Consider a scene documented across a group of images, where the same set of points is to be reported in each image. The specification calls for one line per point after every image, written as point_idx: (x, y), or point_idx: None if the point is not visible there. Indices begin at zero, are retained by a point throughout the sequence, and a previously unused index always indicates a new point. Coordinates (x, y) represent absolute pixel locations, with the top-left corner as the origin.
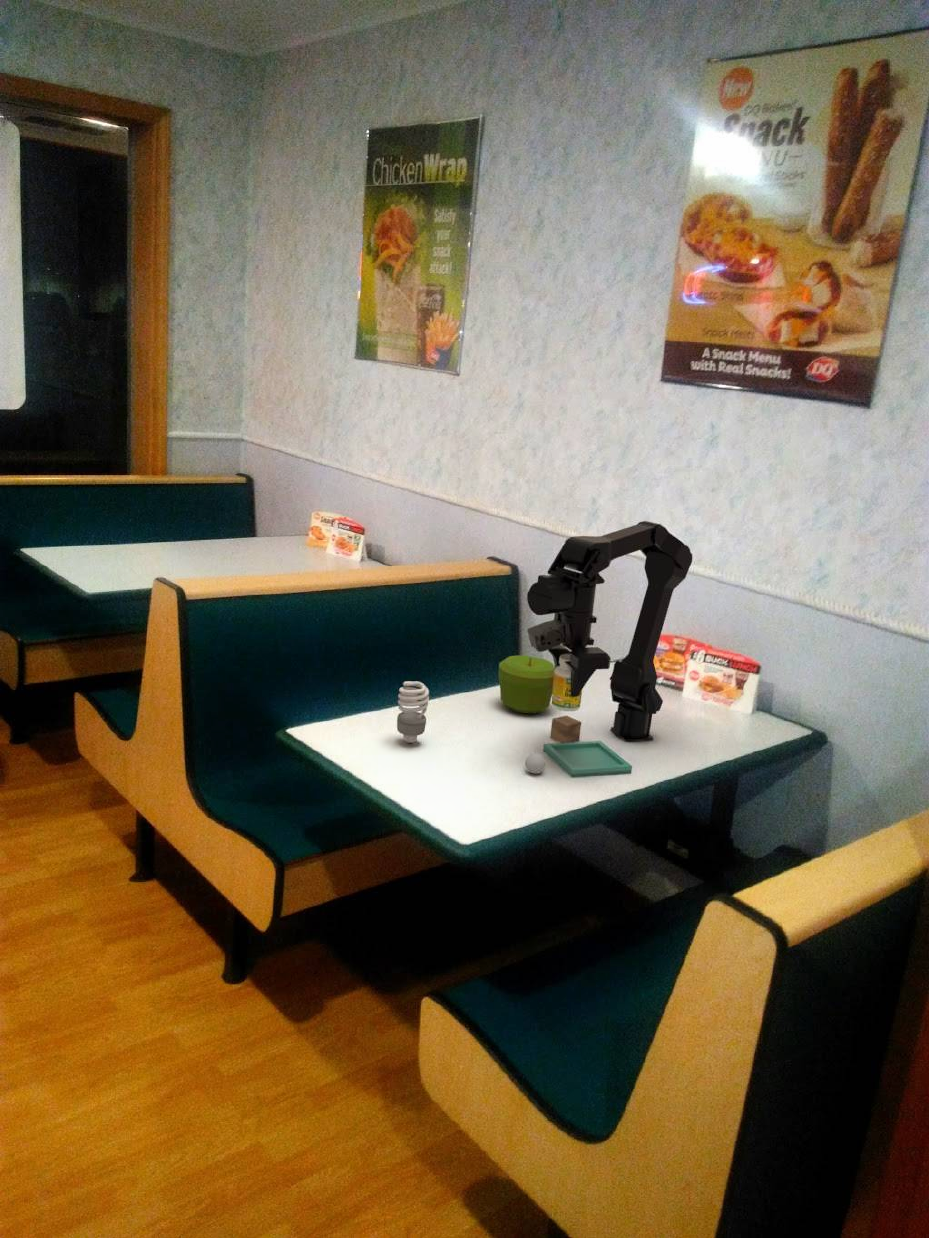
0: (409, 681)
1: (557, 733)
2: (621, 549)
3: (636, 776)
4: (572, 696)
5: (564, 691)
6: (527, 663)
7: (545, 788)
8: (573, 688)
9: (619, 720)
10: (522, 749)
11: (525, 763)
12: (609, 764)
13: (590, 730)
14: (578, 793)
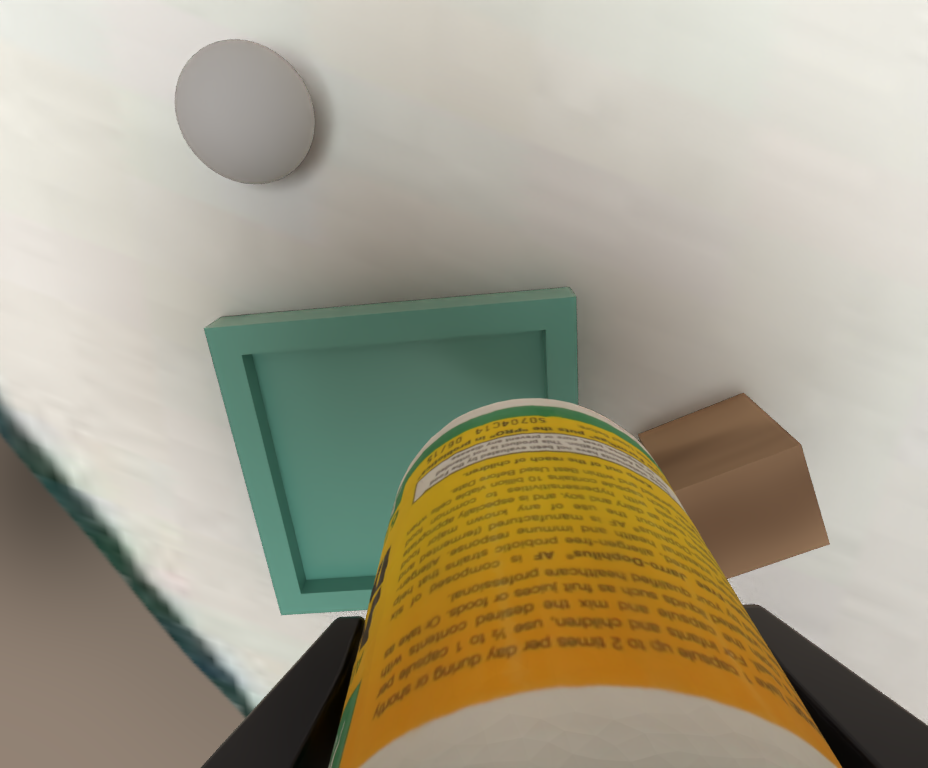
0: None
1: (712, 429)
2: None
3: (261, 597)
4: (338, 619)
5: (388, 580)
6: None
7: (58, 111)
8: (261, 711)
9: None
10: (608, 168)
11: (238, 39)
12: (346, 538)
13: (780, 608)
14: (30, 277)
